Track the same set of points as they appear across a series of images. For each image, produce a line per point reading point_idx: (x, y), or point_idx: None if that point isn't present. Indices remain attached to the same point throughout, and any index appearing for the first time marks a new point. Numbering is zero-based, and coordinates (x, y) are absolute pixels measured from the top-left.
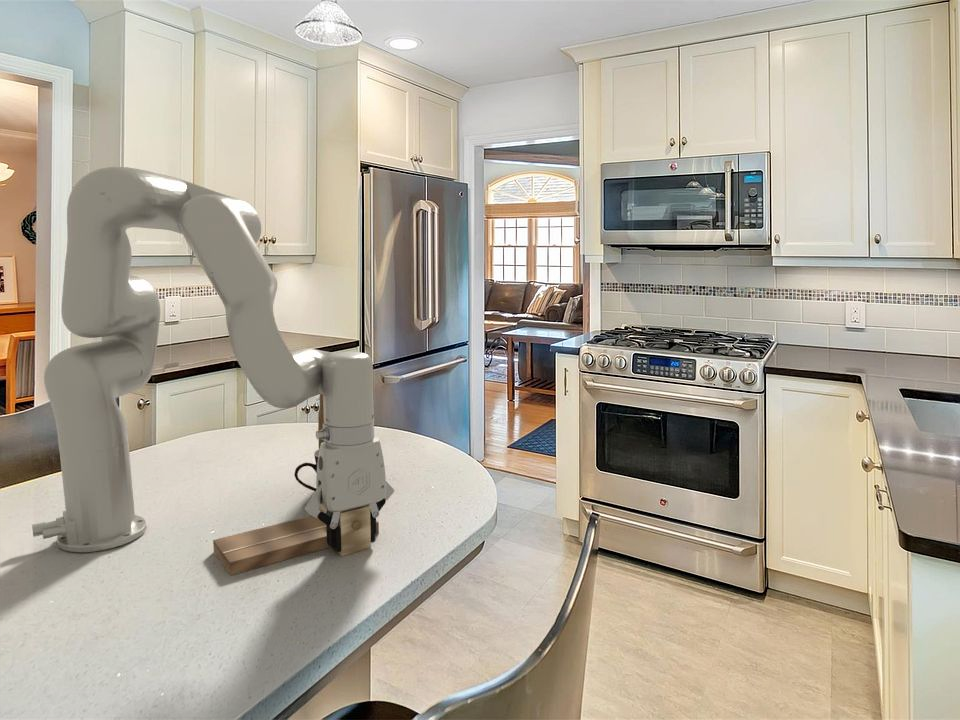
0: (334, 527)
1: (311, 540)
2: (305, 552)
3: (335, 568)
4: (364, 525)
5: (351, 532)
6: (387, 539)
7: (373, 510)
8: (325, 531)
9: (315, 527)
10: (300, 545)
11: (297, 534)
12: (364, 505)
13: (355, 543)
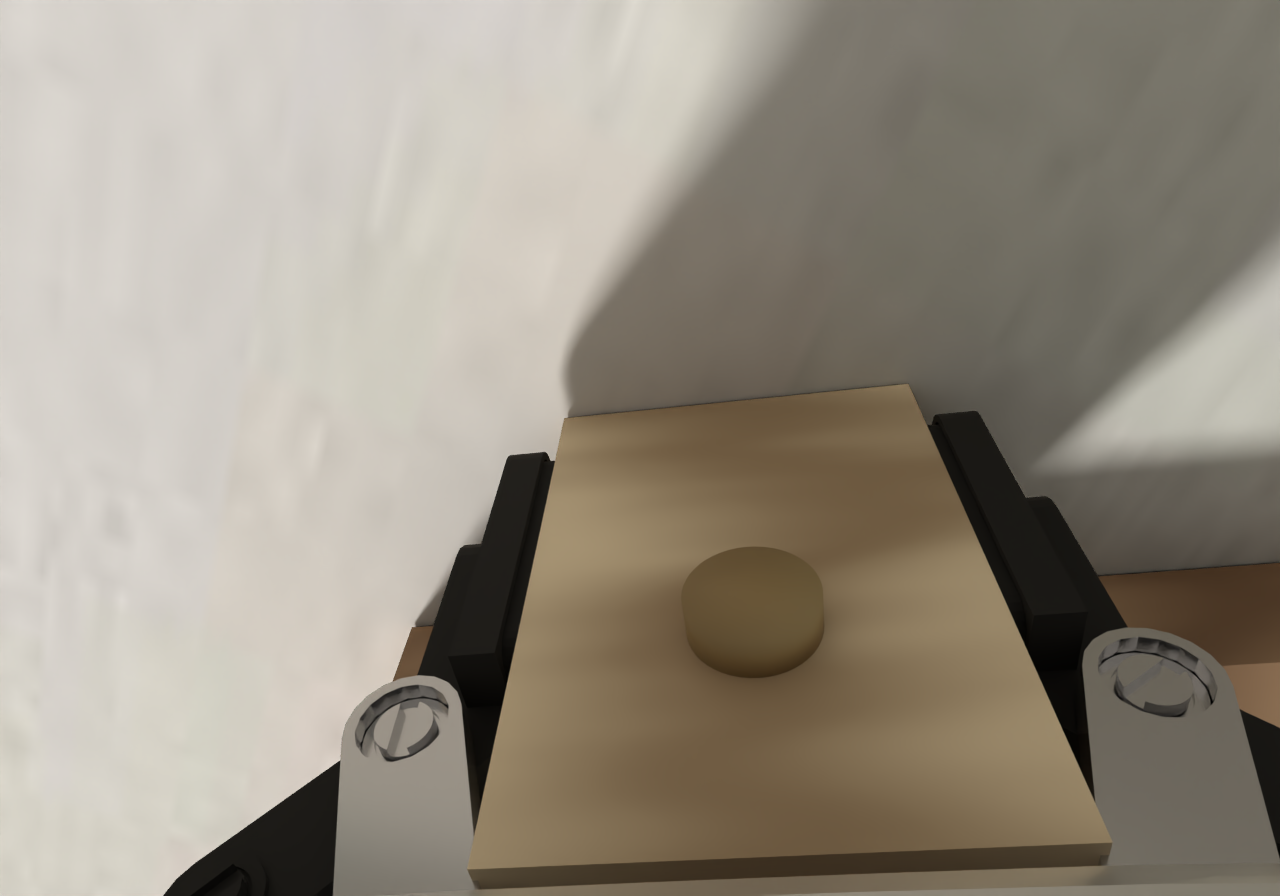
0: (1119, 646)
1: None
2: (1172, 582)
3: (1113, 153)
4: (615, 603)
5: (818, 550)
6: (359, 499)
7: (423, 781)
8: None
9: None
10: (1273, 642)
11: None
12: (616, 885)
13: (750, 455)
